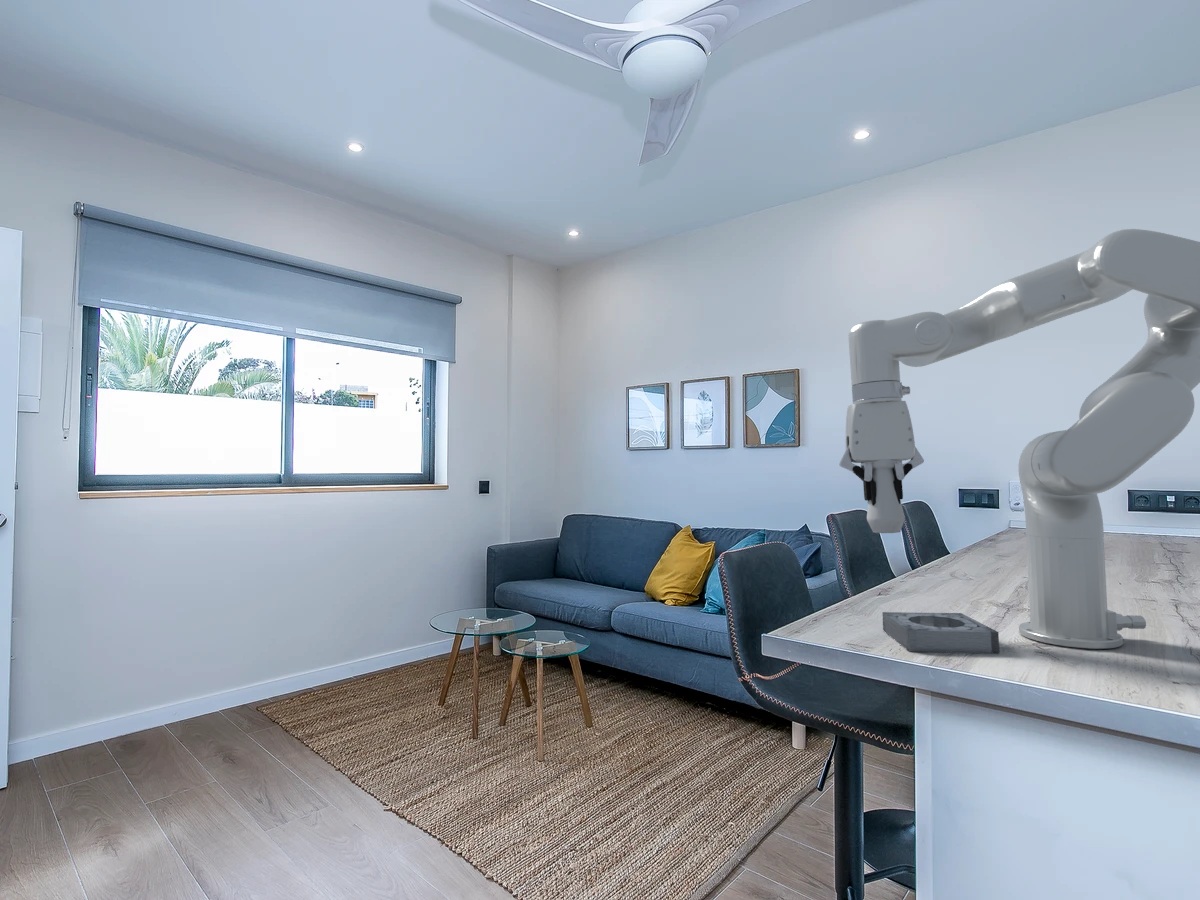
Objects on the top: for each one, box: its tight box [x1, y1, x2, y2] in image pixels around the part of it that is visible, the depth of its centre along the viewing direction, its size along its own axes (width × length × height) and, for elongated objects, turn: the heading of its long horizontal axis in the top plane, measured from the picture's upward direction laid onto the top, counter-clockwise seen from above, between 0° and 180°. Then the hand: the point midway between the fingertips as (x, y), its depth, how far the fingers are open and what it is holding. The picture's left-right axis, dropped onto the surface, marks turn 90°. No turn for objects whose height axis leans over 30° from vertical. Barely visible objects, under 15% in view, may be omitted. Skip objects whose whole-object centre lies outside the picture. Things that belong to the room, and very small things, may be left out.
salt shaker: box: [866, 459, 906, 534], centre depth 102 cm, size 6×6×13 cm
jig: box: [882, 611, 1000, 654], centre depth 93 cm, size 12×12×3 cm
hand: (883, 503), depth 102 cm, fingers closed on salt shaker, 3 cm apart
